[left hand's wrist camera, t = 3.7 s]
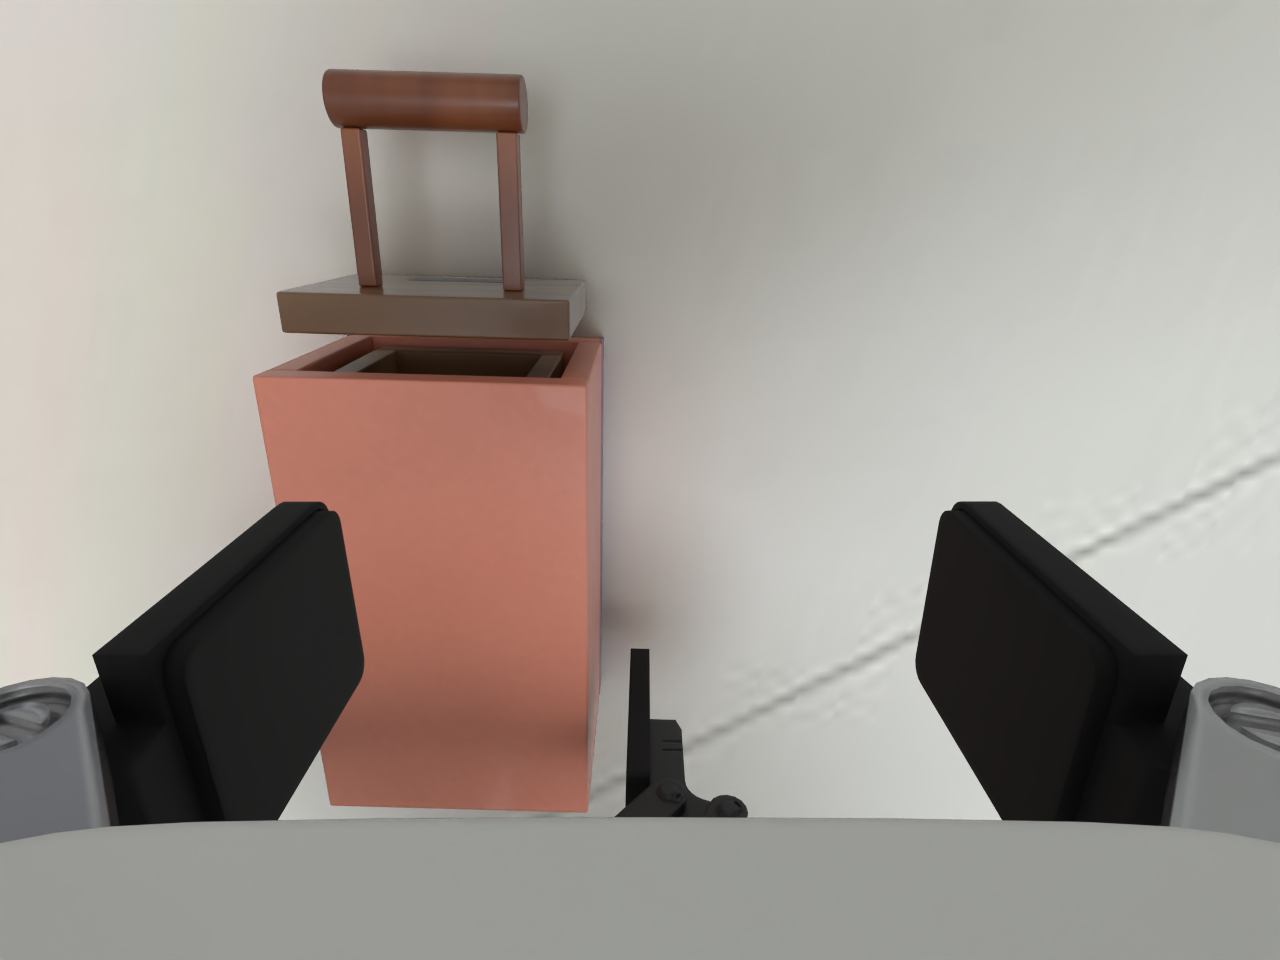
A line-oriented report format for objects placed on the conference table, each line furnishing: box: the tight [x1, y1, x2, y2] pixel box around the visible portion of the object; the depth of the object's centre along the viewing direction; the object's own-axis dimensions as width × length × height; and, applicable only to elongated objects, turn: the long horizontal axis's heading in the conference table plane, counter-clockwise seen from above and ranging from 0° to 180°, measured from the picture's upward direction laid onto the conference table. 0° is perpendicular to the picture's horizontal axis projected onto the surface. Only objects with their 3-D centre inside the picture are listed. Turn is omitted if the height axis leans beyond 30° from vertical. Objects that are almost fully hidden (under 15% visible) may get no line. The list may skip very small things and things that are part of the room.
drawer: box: [277, 69, 586, 378], centre depth 25 cm, size 22×9×6 cm, turn 178°
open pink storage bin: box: [253, 335, 604, 812], centre depth 27 cm, size 17×10×8 cm, turn 178°
